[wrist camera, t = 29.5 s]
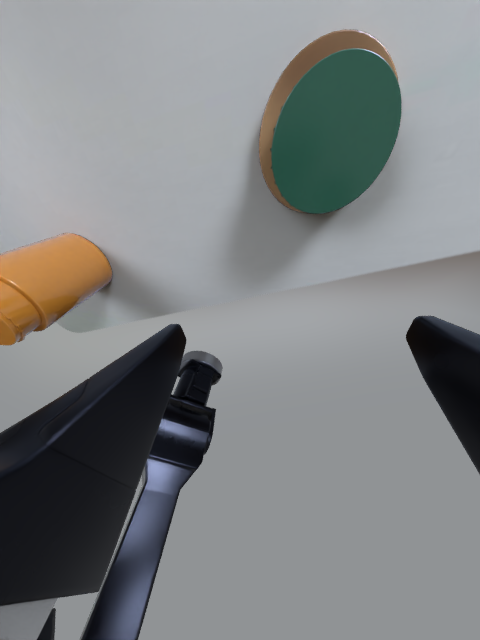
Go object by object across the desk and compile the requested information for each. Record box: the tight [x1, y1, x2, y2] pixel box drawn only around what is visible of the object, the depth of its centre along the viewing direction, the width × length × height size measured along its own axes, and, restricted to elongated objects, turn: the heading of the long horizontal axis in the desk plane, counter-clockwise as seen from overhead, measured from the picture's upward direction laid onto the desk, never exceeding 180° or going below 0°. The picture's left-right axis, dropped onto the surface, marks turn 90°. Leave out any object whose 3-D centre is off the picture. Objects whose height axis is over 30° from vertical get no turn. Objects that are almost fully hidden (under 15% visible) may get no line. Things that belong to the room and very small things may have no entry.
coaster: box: [259, 30, 398, 213], centre depth 12 cm, size 8×8×1 cm
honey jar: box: [0, 233, 112, 345], centre depth 17 cm, size 6×6×10 cm
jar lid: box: [270, 48, 401, 214], centre depth 11 cm, size 7×7×2 cm
